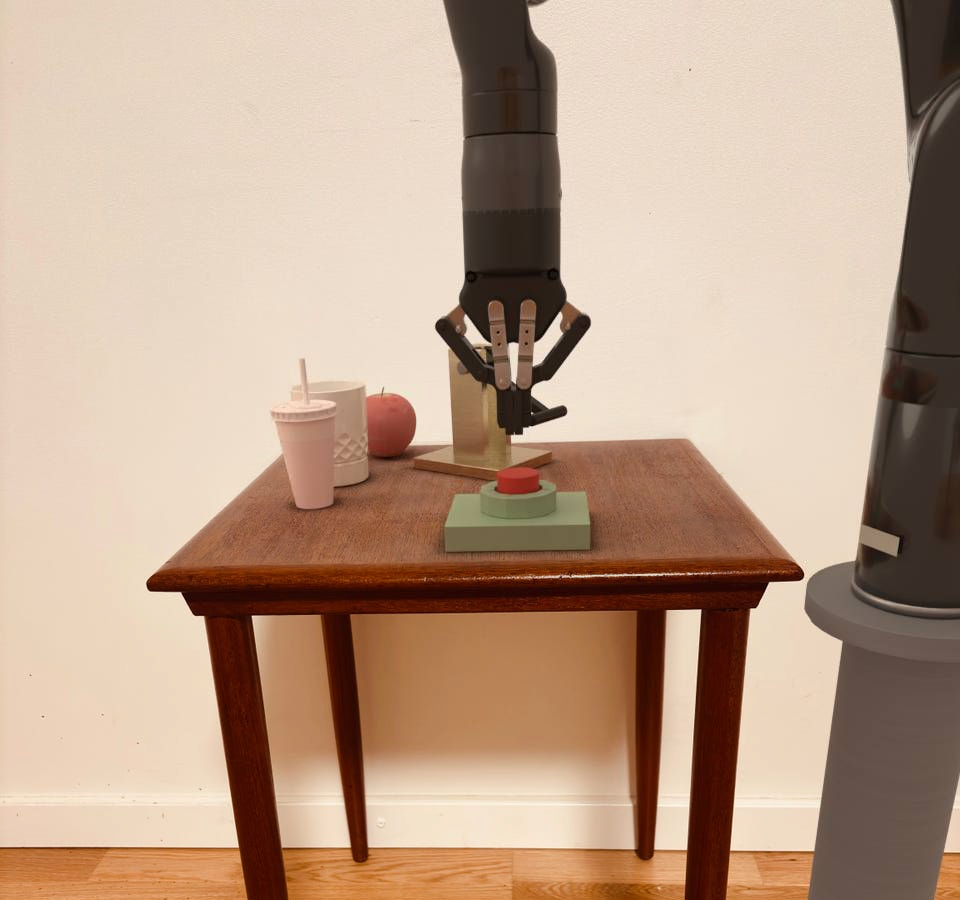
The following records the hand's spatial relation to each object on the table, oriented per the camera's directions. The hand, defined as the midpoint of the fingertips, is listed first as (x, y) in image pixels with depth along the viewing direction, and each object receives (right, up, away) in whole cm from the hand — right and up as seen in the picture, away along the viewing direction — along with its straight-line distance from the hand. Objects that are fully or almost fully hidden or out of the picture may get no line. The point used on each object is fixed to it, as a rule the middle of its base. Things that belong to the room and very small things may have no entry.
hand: (514, 433), depth 77 cm
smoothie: (-19, -4, +15) cm, 25 cm away
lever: (0, +9, +22) cm, 23 cm away
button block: (+1, -8, +4) cm, 9 cm away
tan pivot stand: (-3, +2, +27) cm, 27 cm away
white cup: (-18, 0, +23) cm, 30 cm away
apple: (-14, +4, +33) cm, 36 cm away
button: (0, -5, +2) cm, 5 cm away
